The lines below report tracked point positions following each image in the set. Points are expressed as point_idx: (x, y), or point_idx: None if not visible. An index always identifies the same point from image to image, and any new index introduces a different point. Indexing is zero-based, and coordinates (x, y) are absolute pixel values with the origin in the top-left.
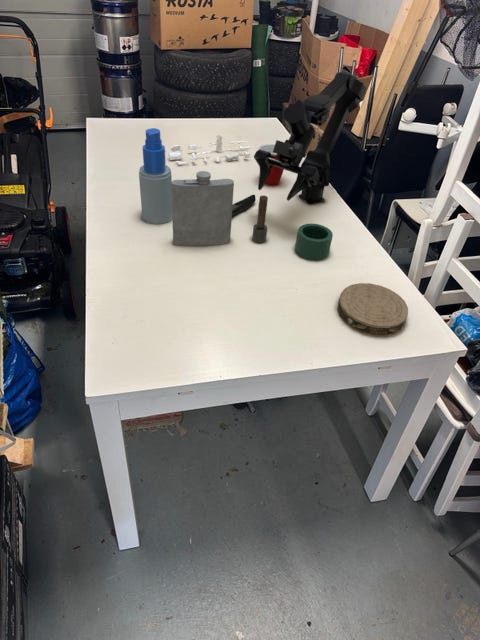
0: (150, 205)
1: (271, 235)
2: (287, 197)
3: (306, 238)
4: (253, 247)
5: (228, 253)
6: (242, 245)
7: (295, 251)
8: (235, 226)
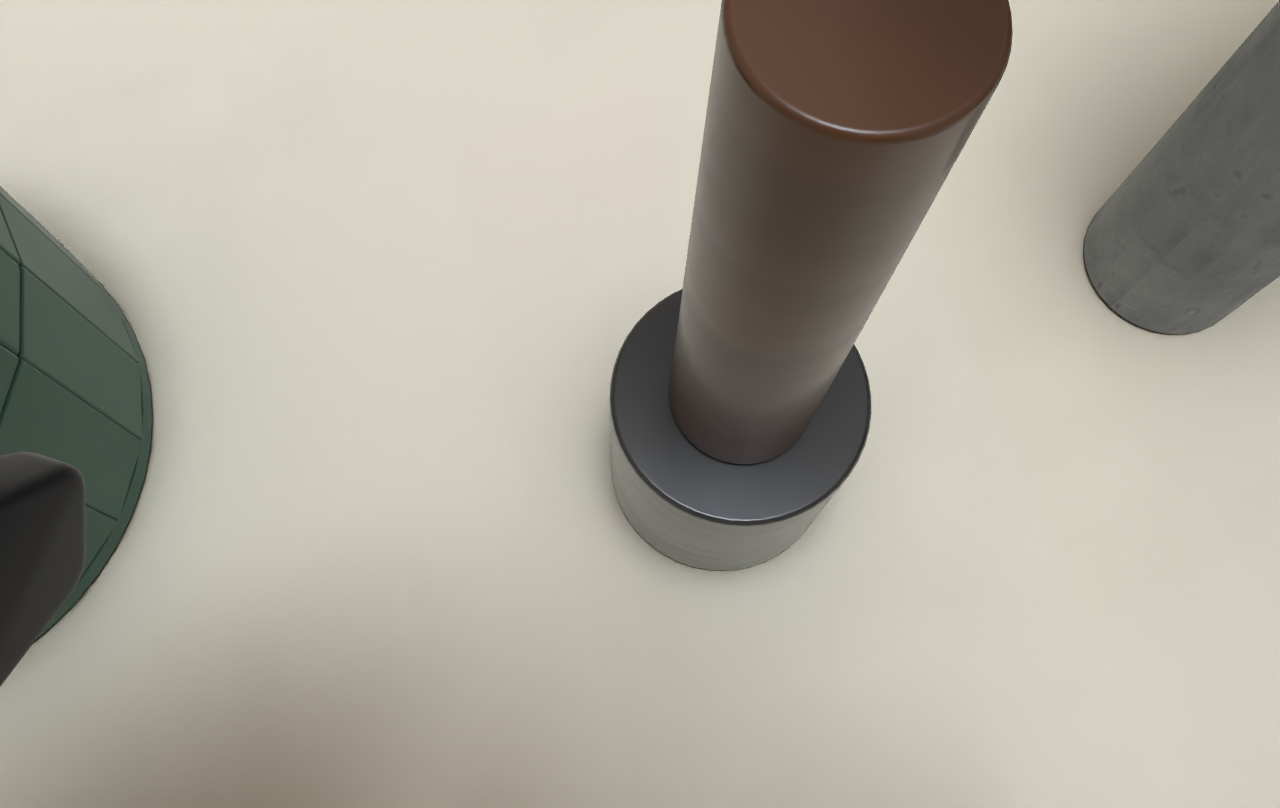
0: None
1: (563, 666)
2: (35, 477)
3: None
4: None
5: None
6: None
7: (134, 335)
8: (1198, 713)
